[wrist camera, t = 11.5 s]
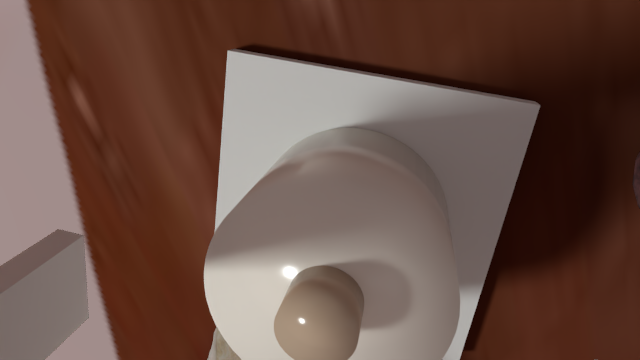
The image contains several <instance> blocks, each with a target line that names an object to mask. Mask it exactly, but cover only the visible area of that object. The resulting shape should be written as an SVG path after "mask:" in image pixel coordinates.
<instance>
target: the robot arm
mask: <svg viewBox="0 0 640 360" xmlns="http://www.w3.org/2000/svg"><path fill="white" fill-rule="evenodd" d="M85 266H86V265H85V249H84V235H80V234H76V233H72V232H67V231H63V230H56V231H55V232H53V233H51V234H50V235H48V236H47V237H45V238H44V239H42V240H41V241H39V242H38V243H36V244H34V245H33V246H31V247H30V248H28V249H26V250H25V251H23V252H22V253H20V254H19V255H17V256H16V257H14V258H12V259H11V260H9V261H8V262H6V263H4V264H3V265H1V266H0V360H45V359H46V358H47V357H48V356H49V355H50V354H51V353H52V352H53V351H54V350H55V349H57V347H59V346H60V345H61V343H63V342H64V341H65V340H66V339H67V338H68V337H69V336H70V335H71V334H72V333H73V332H74V331H75V330H76V329H77V328H78V327H79V326H80V325H81V324H82V323H84V321H86V320H87V319H88V318H89V314H88V299H87V282H86V267H85ZM595 360H597V359H595Z"/></svg>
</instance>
